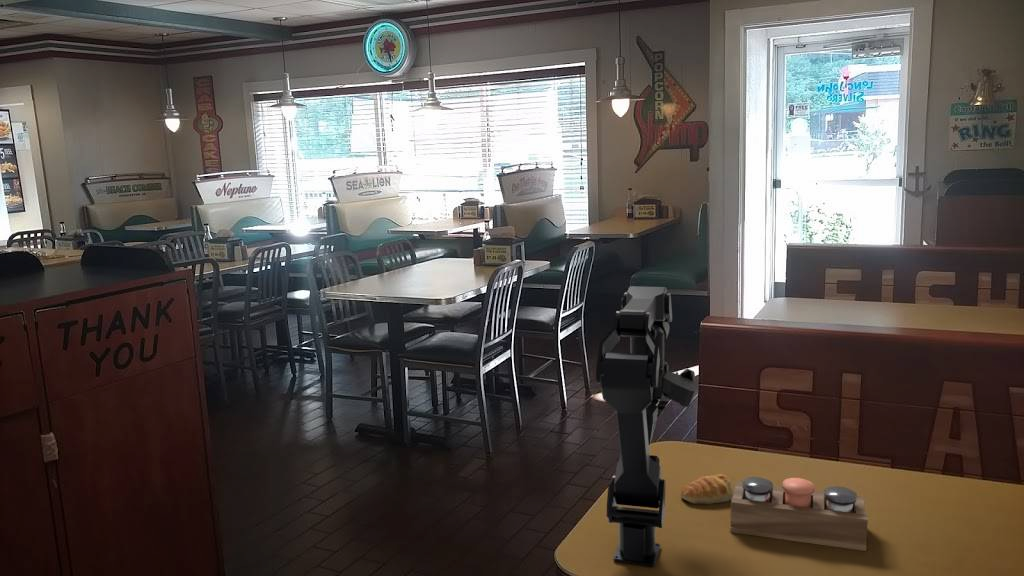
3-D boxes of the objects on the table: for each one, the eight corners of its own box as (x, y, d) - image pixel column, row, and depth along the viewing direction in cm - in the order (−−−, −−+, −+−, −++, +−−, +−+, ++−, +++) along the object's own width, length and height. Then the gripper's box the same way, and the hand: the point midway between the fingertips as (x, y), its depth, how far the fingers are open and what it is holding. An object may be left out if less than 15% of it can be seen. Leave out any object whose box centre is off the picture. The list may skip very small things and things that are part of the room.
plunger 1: (771, 523, 133) (772, 491, 132) (740, 519, 135) (741, 488, 134) (772, 510, 138) (773, 479, 137) (742, 506, 140) (743, 475, 138)
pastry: (692, 510, 142) (692, 490, 141) (673, 494, 148) (673, 475, 148) (737, 500, 145) (737, 481, 144) (716, 485, 151) (717, 467, 151)
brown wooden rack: (866, 550, 127) (867, 521, 126) (730, 531, 134) (730, 503, 133) (862, 524, 135) (864, 495, 134) (734, 507, 142) (735, 480, 141)
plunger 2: (855, 535, 129) (857, 502, 128) (822, 530, 130) (824, 497, 129) (854, 520, 133) (856, 488, 132) (822, 516, 135) (823, 484, 134)
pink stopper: (813, 525, 131) (814, 492, 130) (781, 521, 133) (782, 489, 131) (813, 511, 135) (814, 479, 134) (782, 507, 137) (783, 476, 136)
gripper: (683, 379, 124) (682, 472, 127) (704, 347, 141) (703, 430, 144) (614, 372, 129) (615, 463, 132) (642, 342, 145) (642, 423, 148)
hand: (647, 444), depth 139 cm, fingers closed
